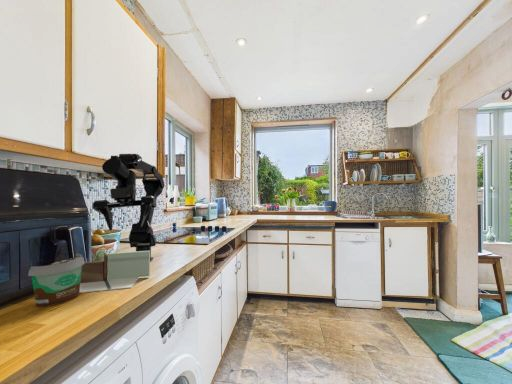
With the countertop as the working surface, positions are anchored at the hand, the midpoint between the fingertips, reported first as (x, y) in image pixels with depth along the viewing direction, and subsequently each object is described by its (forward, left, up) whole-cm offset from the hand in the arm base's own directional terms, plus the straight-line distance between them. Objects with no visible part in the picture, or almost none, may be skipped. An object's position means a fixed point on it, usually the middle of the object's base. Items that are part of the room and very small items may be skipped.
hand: (125, 228), depth 77 cm
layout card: (+4, -4, -16) cm, 17 cm away
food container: (+15, -10, -16) cm, 24 cm away
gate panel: (+3, +2, -15) cm, 16 cm away
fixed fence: (+3, -8, -16) cm, 18 cm away
